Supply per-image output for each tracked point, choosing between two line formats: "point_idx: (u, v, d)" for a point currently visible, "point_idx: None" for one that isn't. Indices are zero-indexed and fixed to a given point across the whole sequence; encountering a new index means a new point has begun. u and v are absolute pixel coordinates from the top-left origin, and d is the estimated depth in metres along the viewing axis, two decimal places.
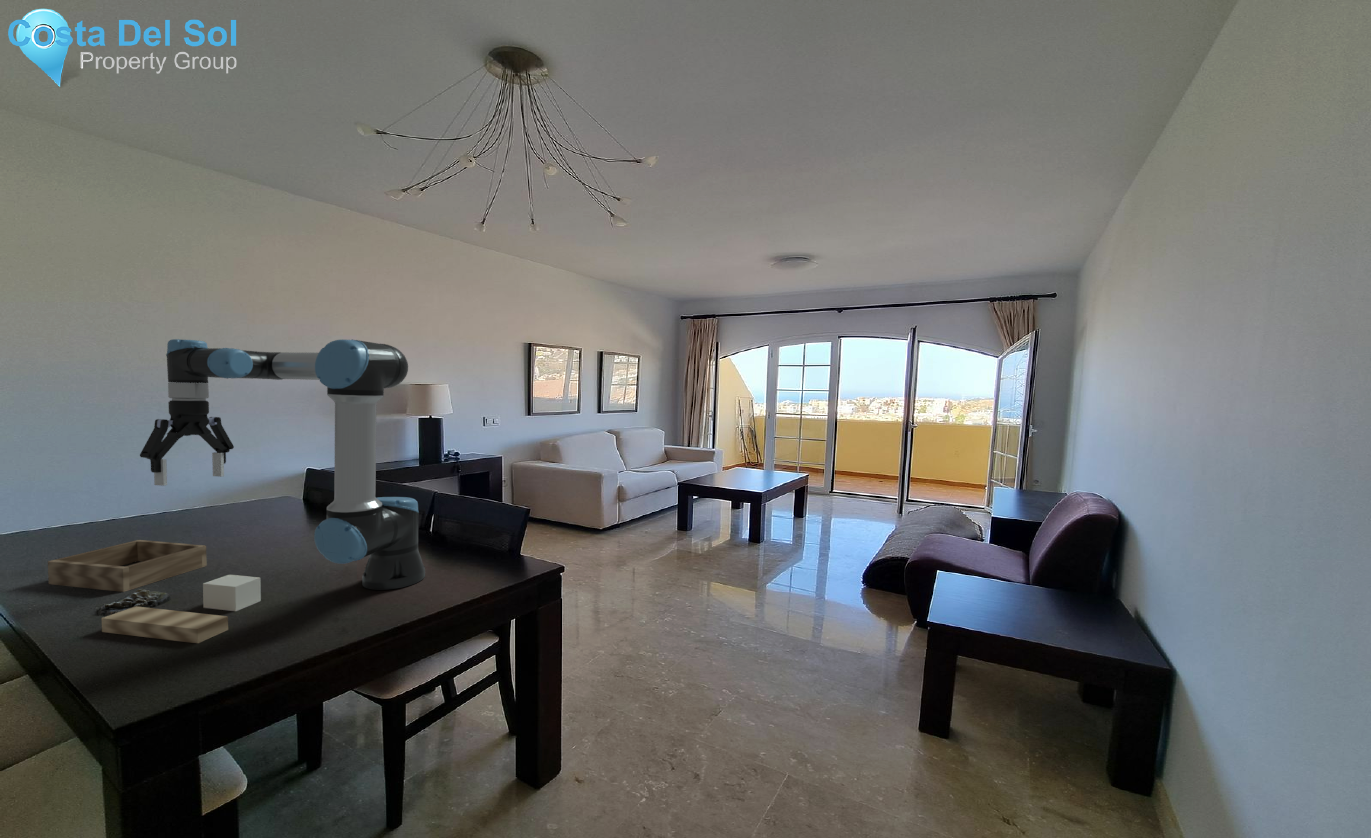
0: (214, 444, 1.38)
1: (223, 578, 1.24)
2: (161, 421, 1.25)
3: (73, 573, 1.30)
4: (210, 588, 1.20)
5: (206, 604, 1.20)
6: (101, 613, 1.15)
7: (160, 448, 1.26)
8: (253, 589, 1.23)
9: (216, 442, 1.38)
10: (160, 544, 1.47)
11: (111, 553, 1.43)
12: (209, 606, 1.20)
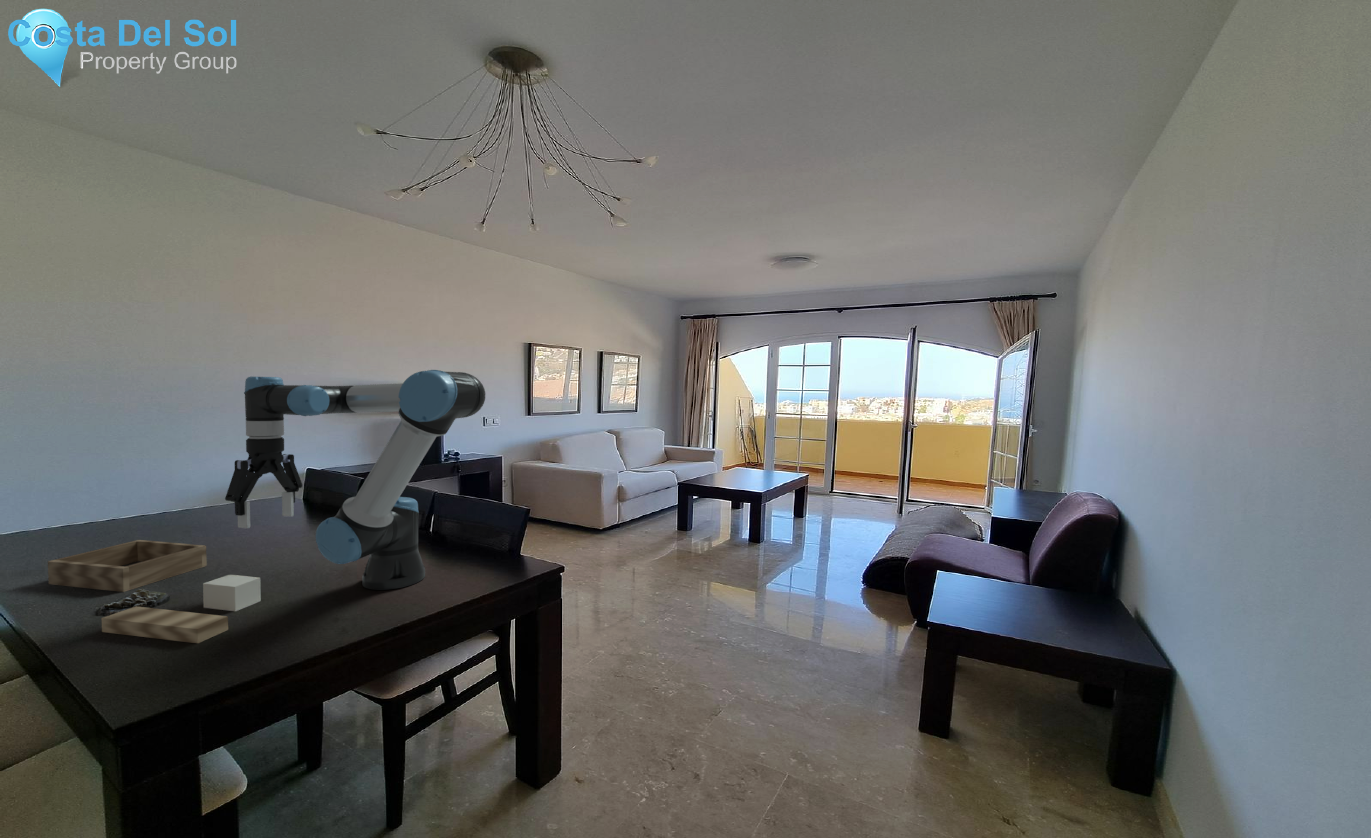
0: (285, 483, 1.35)
1: (223, 578, 1.24)
2: (241, 463, 1.23)
3: (73, 573, 1.30)
4: (210, 588, 1.20)
5: (206, 604, 1.20)
6: (100, 613, 1.15)
7: (243, 490, 1.24)
8: (253, 589, 1.23)
9: (287, 481, 1.35)
10: (160, 544, 1.47)
11: (111, 553, 1.43)
12: (209, 606, 1.20)
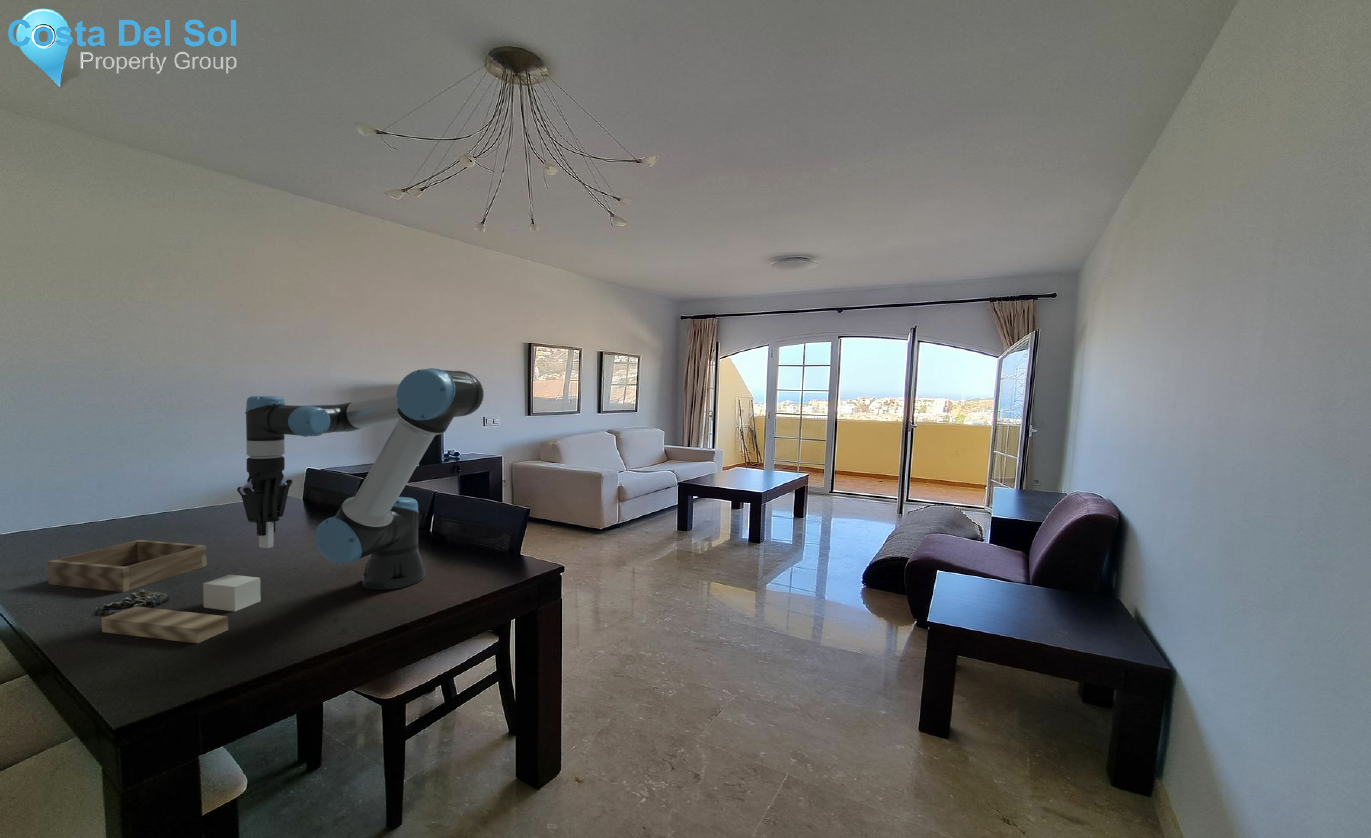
0: (271, 508, 1.31)
1: (223, 578, 1.24)
2: (244, 491, 1.24)
3: (73, 573, 1.30)
4: (210, 588, 1.20)
5: (206, 604, 1.20)
6: (100, 613, 1.15)
7: (259, 513, 1.29)
8: (253, 589, 1.23)
9: (274, 506, 1.31)
10: (160, 544, 1.47)
11: (111, 553, 1.43)
12: (209, 606, 1.20)
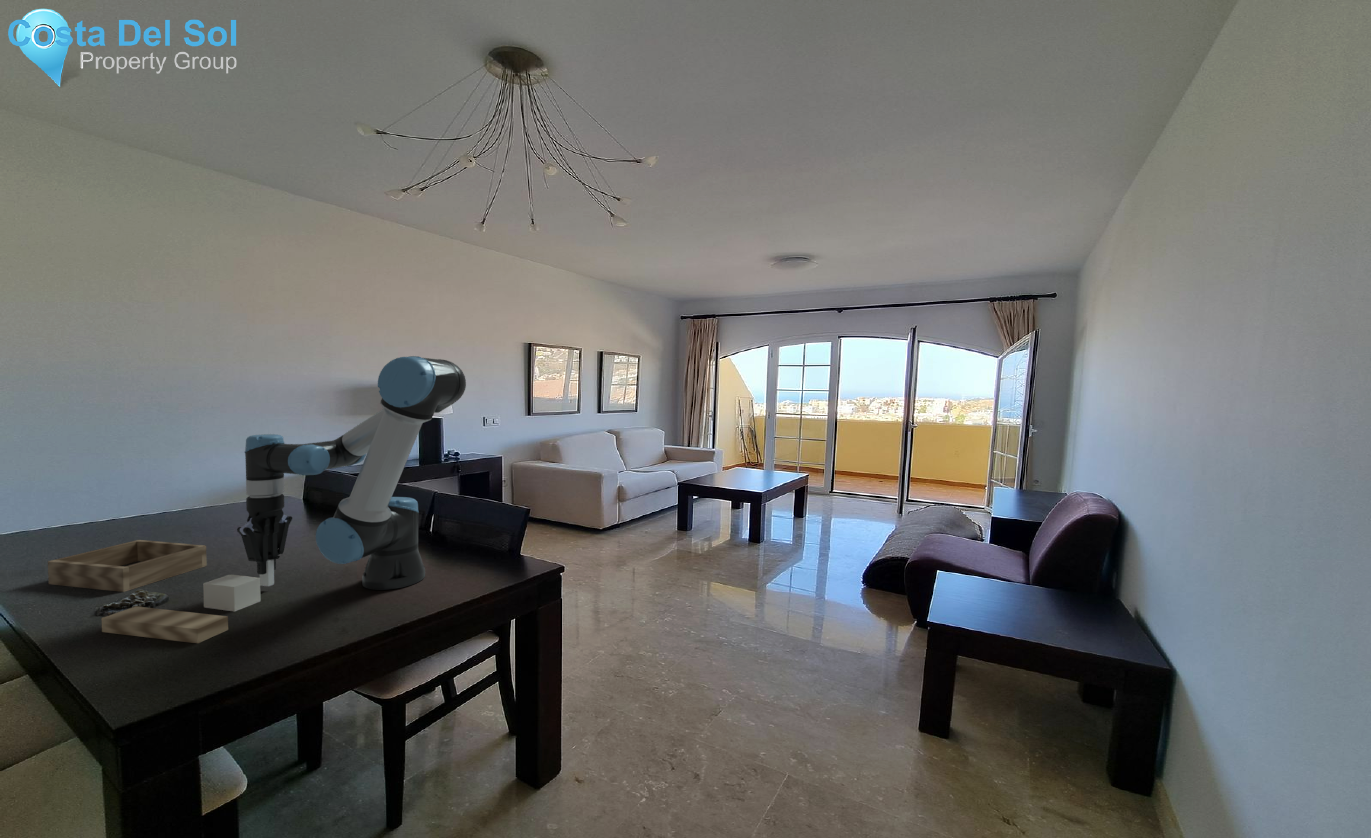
0: (271, 546, 1.31)
1: (224, 578, 1.24)
2: (244, 531, 1.24)
3: (73, 573, 1.30)
4: (210, 588, 1.20)
5: (206, 604, 1.21)
6: (99, 614, 1.15)
7: (259, 551, 1.29)
8: (252, 589, 1.23)
9: (274, 544, 1.32)
10: (160, 544, 1.47)
11: (111, 553, 1.43)
12: (209, 606, 1.20)
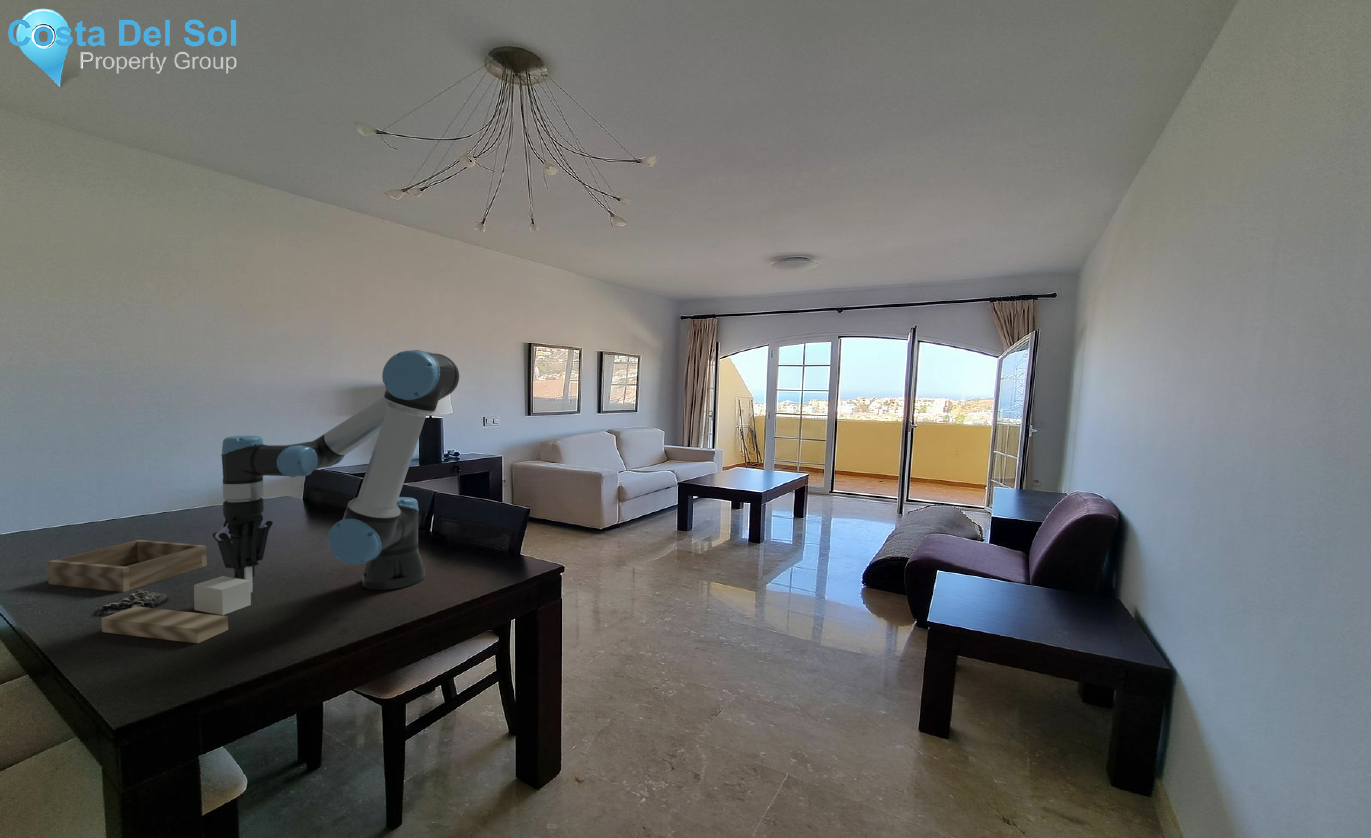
0: (249, 552, 1.26)
1: (215, 580, 1.22)
2: (219, 537, 1.19)
3: (73, 573, 1.30)
4: (200, 590, 1.18)
5: (196, 606, 1.19)
6: (98, 614, 1.15)
7: (237, 558, 1.24)
8: (242, 592, 1.21)
9: (253, 550, 1.26)
10: (160, 544, 1.47)
11: (111, 553, 1.43)
12: (199, 608, 1.19)
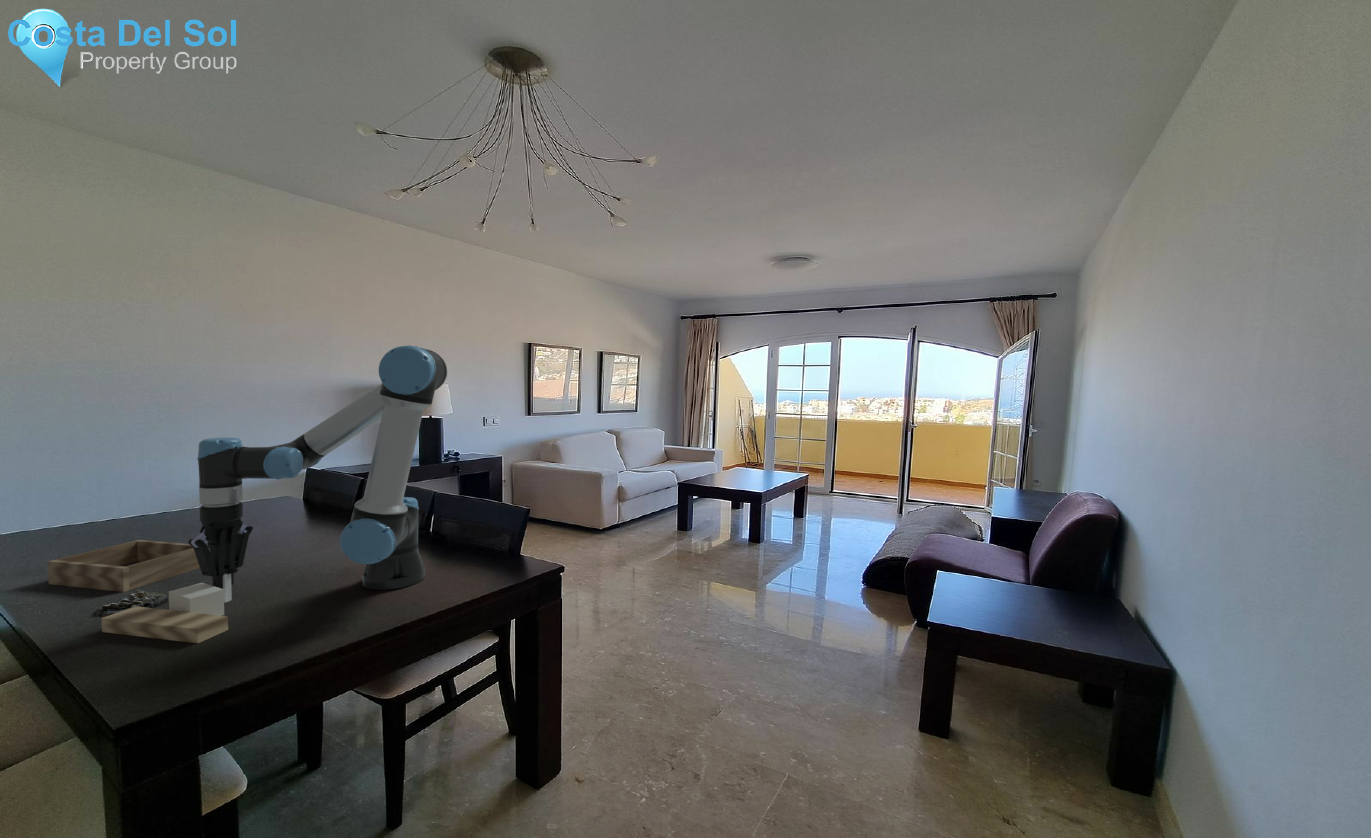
0: (228, 559, 1.21)
1: (192, 587, 1.18)
2: (195, 544, 1.14)
3: (73, 573, 1.30)
4: (173, 597, 1.14)
5: None
6: (98, 614, 1.15)
7: (215, 565, 1.19)
8: (214, 602, 1.15)
9: (231, 557, 1.21)
10: (160, 544, 1.47)
11: (111, 553, 1.43)
12: None
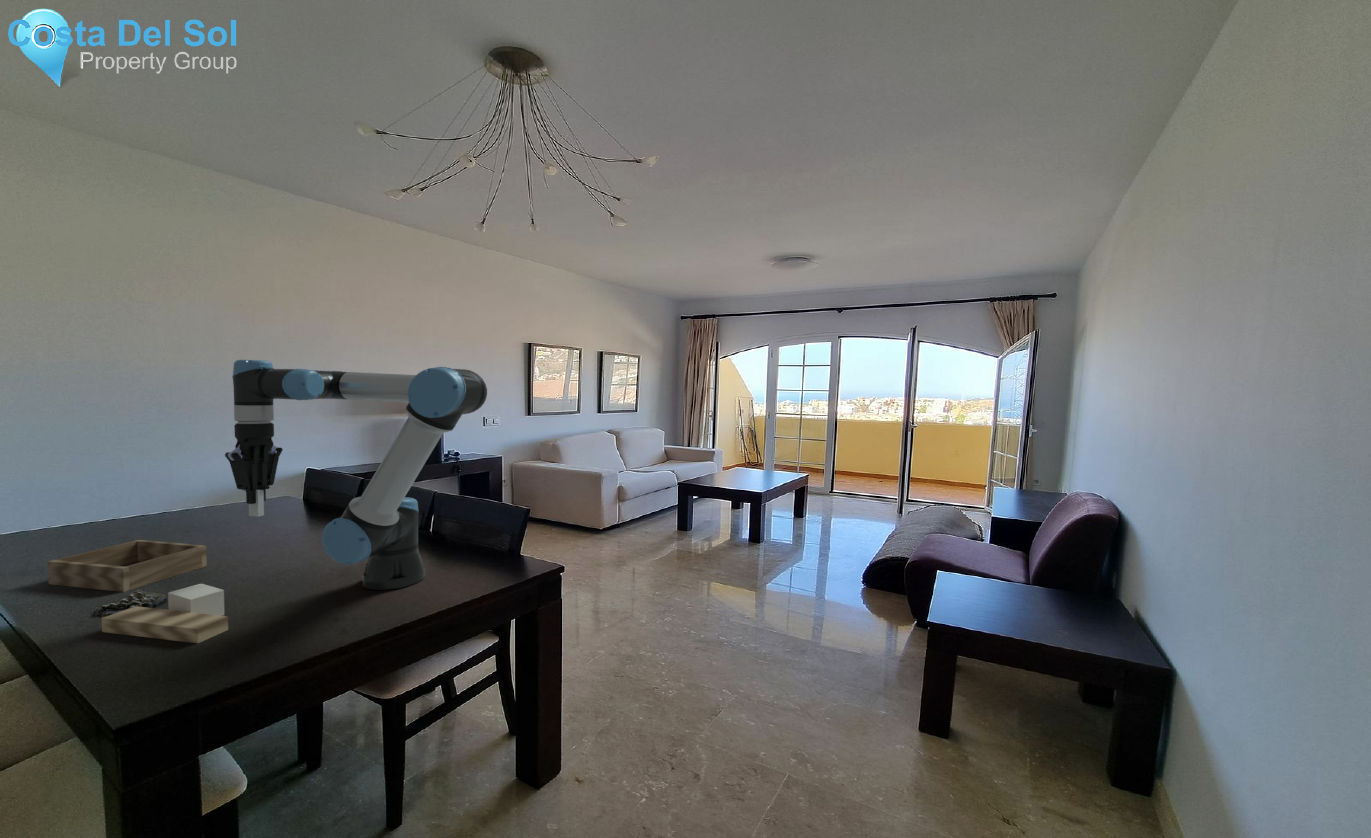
0: (260, 475, 1.28)
1: (191, 587, 1.18)
2: (232, 456, 1.21)
3: (73, 573, 1.30)
4: (173, 598, 1.14)
5: None
6: (97, 614, 1.15)
7: (249, 480, 1.25)
8: (214, 602, 1.15)
9: (264, 474, 1.28)
10: (160, 544, 1.47)
11: (111, 553, 1.43)
12: None
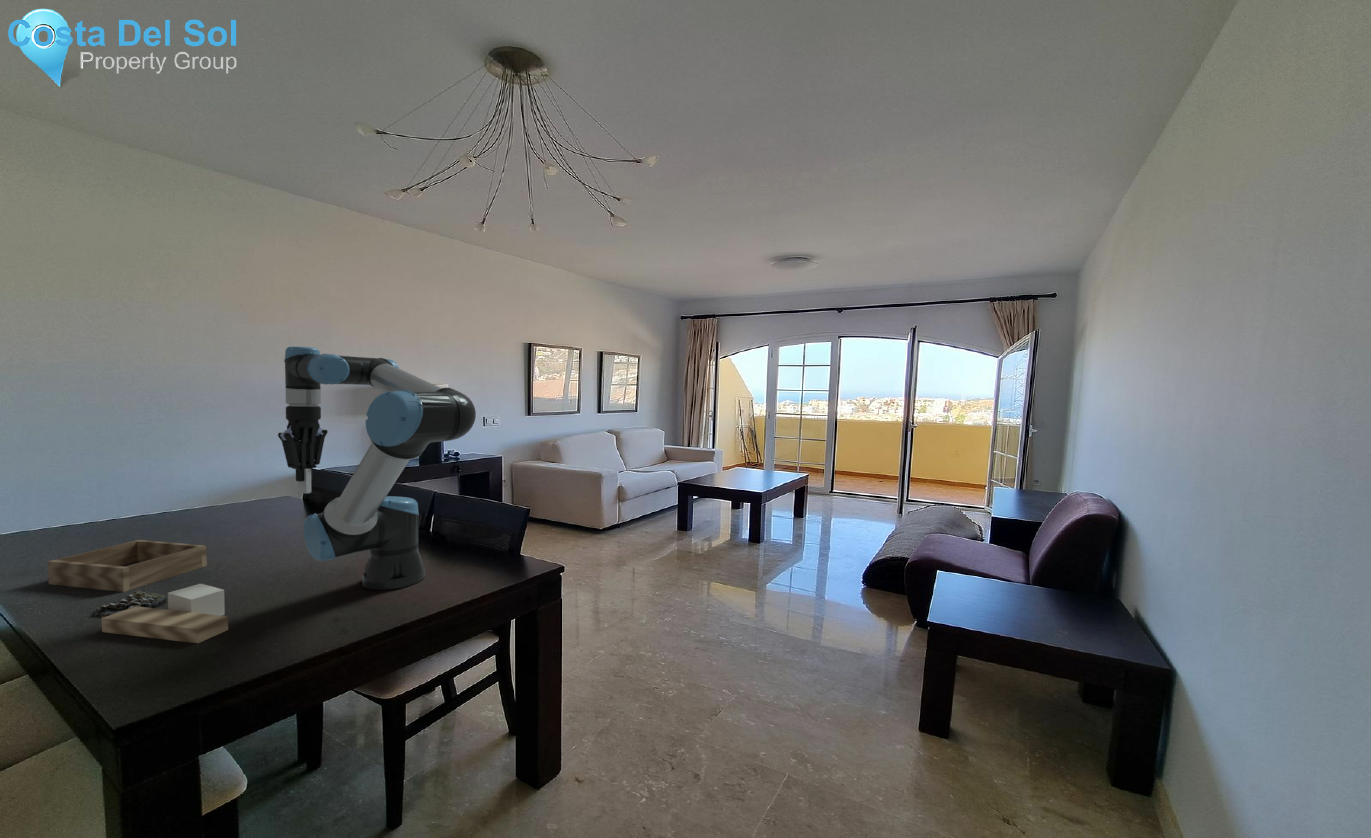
0: (308, 455, 1.37)
1: (191, 588, 1.17)
2: (284, 436, 1.30)
3: (73, 573, 1.30)
4: (172, 598, 1.14)
5: None
6: (96, 614, 1.14)
7: None
8: (215, 602, 1.15)
9: (311, 454, 1.37)
10: (160, 544, 1.47)
11: (111, 553, 1.43)
12: None
